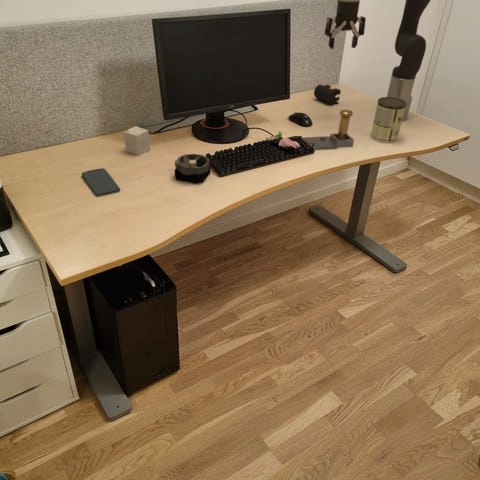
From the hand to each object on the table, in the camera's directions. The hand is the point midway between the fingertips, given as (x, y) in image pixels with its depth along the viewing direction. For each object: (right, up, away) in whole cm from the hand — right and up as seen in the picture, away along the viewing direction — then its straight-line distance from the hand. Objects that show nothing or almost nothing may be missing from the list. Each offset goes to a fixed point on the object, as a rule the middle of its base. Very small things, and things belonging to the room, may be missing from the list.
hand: (342, 48), depth 170 cm
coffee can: (+18, -31, +8) cm, 37 cm away
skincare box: (-73, -40, -10) cm, 84 cm away
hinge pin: (0, -35, +2) cm, 35 cm away
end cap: (+1, -8, +39) cm, 40 cm away
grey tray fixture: (-6, -35, +1) cm, 36 cm away
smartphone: (-80, -54, -29) cm, 101 cm away
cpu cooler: (-53, -51, -23) cm, 77 cm away
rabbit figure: (-23, -37, -3) cm, 44 cm away
